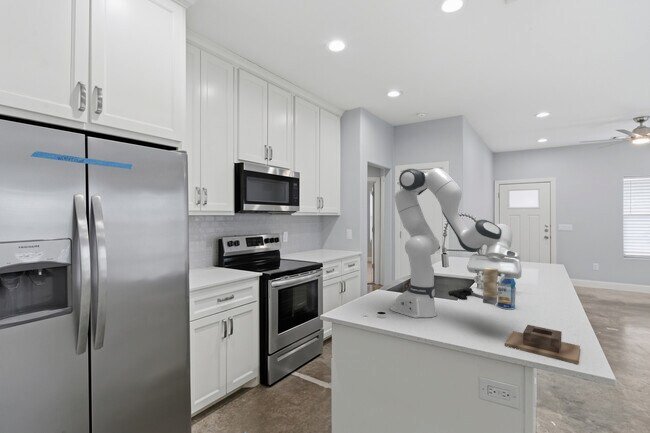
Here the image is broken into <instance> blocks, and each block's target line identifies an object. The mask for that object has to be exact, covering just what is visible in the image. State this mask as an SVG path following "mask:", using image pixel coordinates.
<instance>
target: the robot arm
mask: <svg viewBox="0 0 650 433" xmlns="http://www.w3.org/2000/svg"><path fill="white" fill-rule="evenodd" d="M398 181H399V185H400V187H402V188H401V189H399V190H397V191H396V192H395V195H394V201H395V206H396V209H397V213H398V215H399V218H400V220H401V224H402V226H403V228H404V229H405V230H406V231H407V232H408V234H409V236H410V238H409V239H407V241H406V242H405V243H404V244H405V245H404V251H405V253H406V254H407V256H408V262H409V267H410V282H409V283H408V284H407V285H405V288H406V290H405V291H403V292H402V293H401V294H399V295H398V296H397V297H396V299H395V301H394V304H393V305H391V306H390V311H392V312H395V313H398V314H401V315H404V316H407V317H411V318H414V319H415V318H433V317H436V316H437V314H438V313H437V310H436V305H435V295H436V292H435V291H436V289H435V284H434V283H435V269H434V267H433V264H432V257H431V256H433V255H434V254H435V253H436V252H437V251H438V250H439V248H440V241H439V239H438V238H437V237H436V236H435V234H434V233H433V230H432V229H431V228H430V226H429V224H428V222H427V220H426V218H425V216H424V213H423V210H422V208H421V206H420V203H419V200H418V196H420V195H422V193H424V192H425V191H426V190H427V189H428V190H429V191H430V192H431V193H432V194H433V195H434V197H435V198H436V199H437V201H438V203H439V205H440V208H441V212H442V213H441V214H442V215H443V216H444V219H445V220H446V221H447V223H448V225H449V227H450V228H451V229H452V231H453V233H454V234H455V235H456V238H457V240H458V243H459V245H460V247H461V248H462V249H463V250H465V251H467V252H470V253H474V254H471V255H469V261H468V263H467V265H466V268H467V269H466V270H467V271H468V272H469V273H470V274H471V273H472V274H478V275H479V276H480V282H481V283H484V269H485V268H493V269H498V279H496V284H497V285H501V282H502V281H503V280H504V279H505V277H508V278H513V279H514V280H517V279H518V280H519V279H520V278H521V277H522V274H523V273H522V271H523V270H522V264H521V257H520V255H519V253H518V252H516V251H512V250H510V248H511V246H512V244H513V243H512V242H513V231H512V229H511V227H510V226H509V225H507V224H505V223H493V222H492V221H490V220H487V219H479V220H477V221H476V222H475V223H473V224H472V225H471V226H470V227H469V228H468V227H467V225H466V224H465V222H464V221H463V220H462V218H461V216H460V215H459V207H460V202H461V199H462V195H463V194H462V190H461V188H460V186H459V185H458V184H457V182H456V181H455V180H454V179H453V178H452V177H451V176H450V175H449V174H448V173H447V172H446V171H445V170H443V169H442V168H440V167H434V168H431V169H429V170H428V171H427V172H425V171H423V170H421V169H417V168H407V169H404V170H403V171H402V172H401V173H400V174H399V178H398ZM484 245H485V246H486V250H485V254H483V253H482V254H480V253H475V252H478V251H480V250H481V248H482V247H483V246H484Z"/></svg>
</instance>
